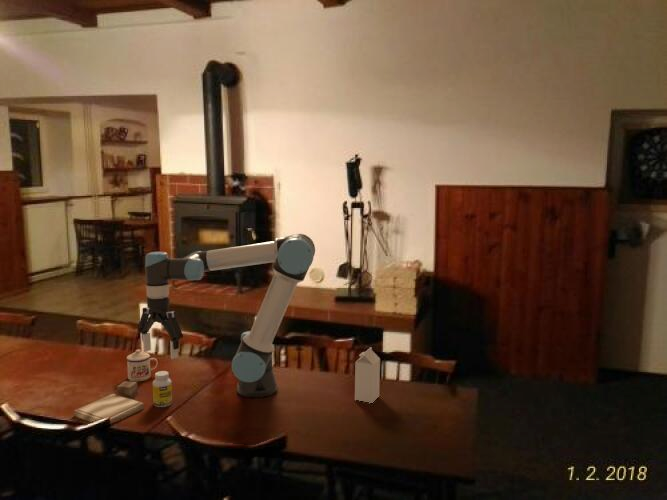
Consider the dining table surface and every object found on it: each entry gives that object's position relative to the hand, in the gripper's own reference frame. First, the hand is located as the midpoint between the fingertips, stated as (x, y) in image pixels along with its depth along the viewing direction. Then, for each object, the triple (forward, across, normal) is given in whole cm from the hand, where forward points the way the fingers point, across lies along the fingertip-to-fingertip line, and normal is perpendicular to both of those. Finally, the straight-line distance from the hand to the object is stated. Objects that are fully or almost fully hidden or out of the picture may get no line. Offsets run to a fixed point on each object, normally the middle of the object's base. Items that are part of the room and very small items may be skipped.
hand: (160, 354), depth 192 cm
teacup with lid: (+19, +26, -14) cm, 35 cm away
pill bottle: (+19, 0, 0) cm, 19 cm away
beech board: (+19, +11, +14) cm, 26 cm away
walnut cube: (+19, +16, +2) cm, 25 cm away
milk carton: (+19, -62, -41) cm, 77 cm away
